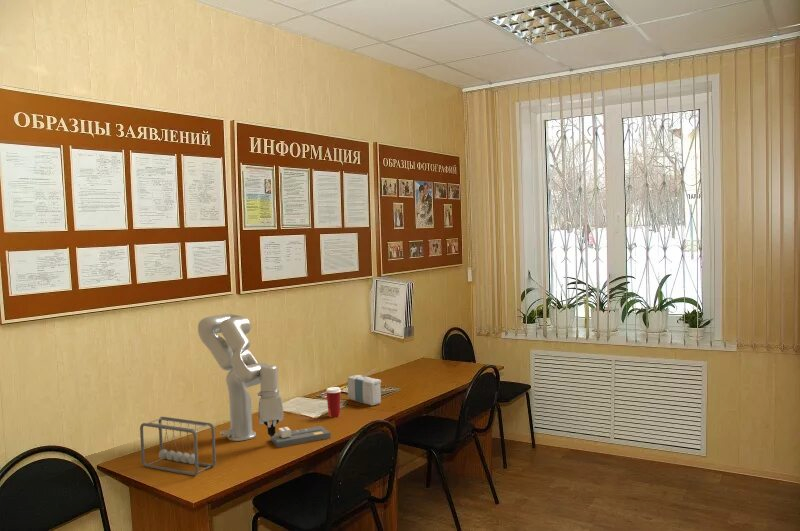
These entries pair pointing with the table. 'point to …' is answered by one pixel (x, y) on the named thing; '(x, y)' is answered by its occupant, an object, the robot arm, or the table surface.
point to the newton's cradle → (178, 455)
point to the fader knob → (284, 432)
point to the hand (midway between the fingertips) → (271, 435)
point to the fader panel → (301, 436)
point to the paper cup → (333, 401)
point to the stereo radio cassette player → (364, 389)
